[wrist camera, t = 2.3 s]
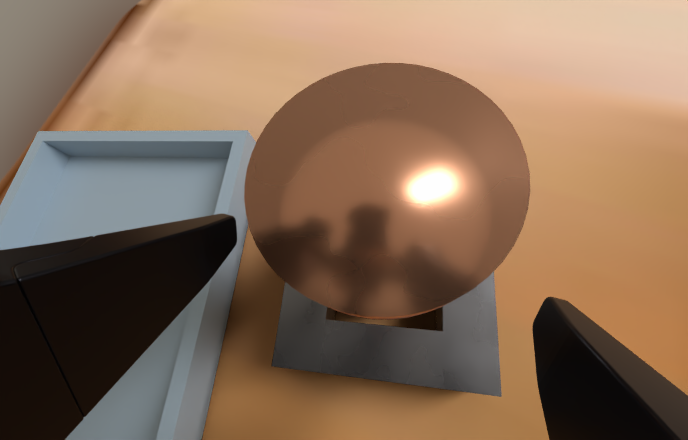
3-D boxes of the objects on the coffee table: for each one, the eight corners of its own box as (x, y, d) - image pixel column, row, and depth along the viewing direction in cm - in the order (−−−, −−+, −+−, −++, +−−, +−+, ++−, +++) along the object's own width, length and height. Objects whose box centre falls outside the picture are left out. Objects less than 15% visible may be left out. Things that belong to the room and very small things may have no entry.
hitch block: (484, 386, 15) (501, 396, 13) (288, 361, 17) (271, 366, 14) (475, 198, 18) (487, 179, 16) (312, 193, 20) (302, 175, 18)
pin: (437, 334, 16) (548, 334, 5) (332, 323, 17) (216, 301, 6) (437, 232, 18) (516, 58, 7) (342, 227, 19) (270, 67, 8)
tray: (175, 562, 14) (131, 608, 12) (-84, 495, 17) (-163, 521, 15) (263, 153, 22) (247, 130, 19) (73, 151, 24) (38, 131, 22)
